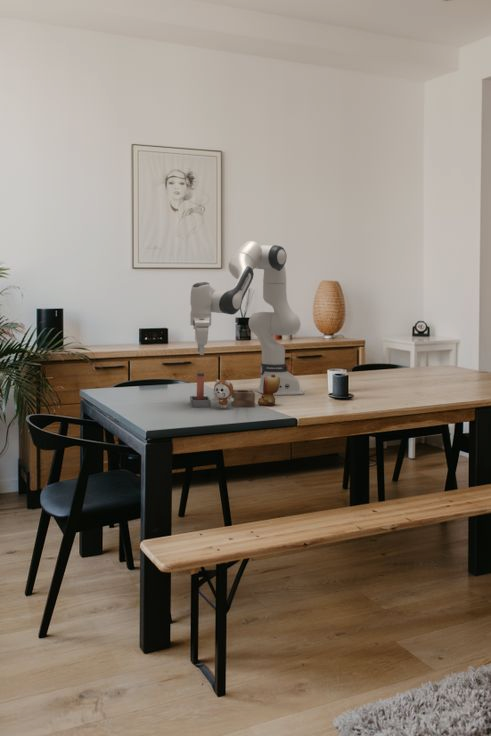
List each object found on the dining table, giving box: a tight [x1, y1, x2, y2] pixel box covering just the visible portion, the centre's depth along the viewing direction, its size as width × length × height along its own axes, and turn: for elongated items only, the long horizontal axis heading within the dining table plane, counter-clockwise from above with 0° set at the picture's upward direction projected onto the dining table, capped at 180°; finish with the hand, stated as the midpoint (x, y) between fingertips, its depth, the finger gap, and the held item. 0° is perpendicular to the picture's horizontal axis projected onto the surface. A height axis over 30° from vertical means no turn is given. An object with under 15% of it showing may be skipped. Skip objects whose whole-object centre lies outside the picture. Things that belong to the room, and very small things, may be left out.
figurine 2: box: [257, 374, 280, 407], centre depth 301 cm, size 10×8×15 cm
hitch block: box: [230, 389, 256, 408], centre depth 299 cm, size 9×9×6 cm
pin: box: [196, 372, 205, 400], centre depth 297 cm, size 3×3×13 cm
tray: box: [189, 395, 211, 408], centre depth 297 cm, size 8×11×3 cm
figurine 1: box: [212, 379, 234, 409], centre depth 290 cm, size 9×9×12 cm
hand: (200, 353), depth 295 cm, fingers open, 8 cm apart
